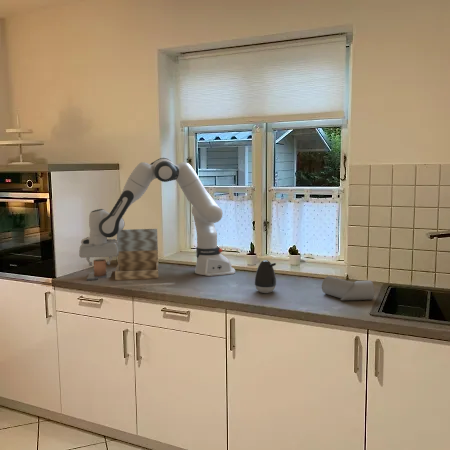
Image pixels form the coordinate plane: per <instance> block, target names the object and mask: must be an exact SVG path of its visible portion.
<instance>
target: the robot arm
mask: <svg viewBox="0 0 450 450" xmlns="http://www.w3.org/2000/svg"><path fill="white" fill-rule="evenodd" d="M156 179H157V180H159V181H160V182H162V183H163V182H164V183H168V182H171V181H172V182H173V181H175V182H177V184H178V185H179V188H180V189H181V190H182V192H183V194H184V196H185V198H186V200H187V201H189V202H190V204H192V207H191V213H192V214H191V215H192V216H193V220H194V225H195V230H196V248H195V252H196V253H195V256H196V264H195V268H194V273H195V274H196V275H201V276H202V275H203V276H206V277H211V276H212V277H214V276H222V275H233V274H235V273H236V269H235V268H234V267H232V264H231V261H230V259H229V258H227V257H226V256H225V255H223V254H222V253H223V249H222V248H221V247H219V246H218V232H217V230H216V227H215V224H216V223H219V222H220V221H221V220H222V218H223V210H222V208H221V207H220V206H219V204H217V202H216V201H215V199H214V198H213V197H212V196H211V195H210V193H209V192H208V190H207V189H206V188H205V186H204V184H203V182H202V181H201V179H200V177H199V176H198V173H197V172H196V170H194V168H193V167H192V165H191V164H190V163H188V162H186V161H183V162H179V163H177V164H175V163H174V162H172V161H171V160H170V159H169V158H165V157H160V158H158V159H156V160H154V161H152V162H151V163H148V162H145V161H144V162H143V161H141V162H139V163H137V165H136V167H134V169H133V170H132V171H131V172H130V175H129V176H128V178H127V180H126V182H125V184H124V186H123V189H122V191H121V193H120V196H119V198H118V199H117V200H116V203H115V204H114V206H113V208H112V209H111V211H110V212H108V211H107V210H105V209H103V208H99V209H98V208H97V209H94V210H91V211H90V213H89V215H88V228H89V236H87V237H84V238H82V239H81V241H80V247H79V257H80V258H81V259H82V258H85V259H86V261H87V262H88V265H89V266H93V261H91V260H90V259H91V258H108V259H109V260H106V266H111V261H112V258H113V257H118V254H119V252H118V246H119V242H118V241H117V238H116V239H115V238H113V237H115V236H117V233H119V232H120V231H121V230H124V227H125V226H126V225H125V220H124V218H123V217H124V215H125V214H126V212H127V210H128V209H129V208H130V207H131V206H132V204H133V203H135V202H136V201H138V200H139V199H141V198H142V197H143V196H144V194H145V193H146V191H147V190H148V188H149V186H150V185H151V183H152V182H153V181H154V180H156ZM111 238H113V239H111Z"/></svg>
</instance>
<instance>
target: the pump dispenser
mask: <svg viewBox="0 0 450 450" xmlns="http://www.w3.org/2000/svg"><path fill="white" fill-rule="evenodd" d="M276 265H277V263H276V262H273V263H271V261H269V260H268V259H263V260H262V261H261V262H260V263H259V264H258V267H257V269H256V272H255V277H254V285H255V288H256V290H257V291H258V293H259V292H260V293H261V294H271V293H272V292H273V291H274V290H275V288H276V286H277V277H276V272H275V269H274V267H275V266H276Z"/></svg>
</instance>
